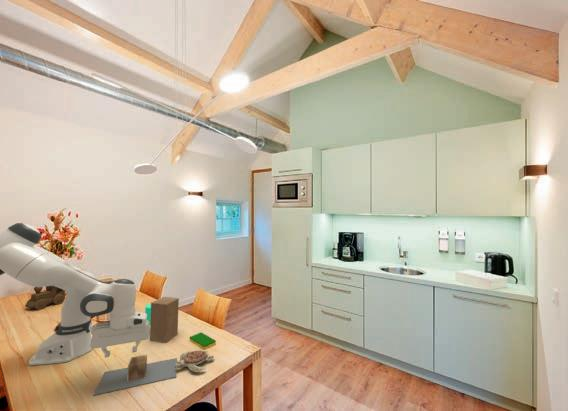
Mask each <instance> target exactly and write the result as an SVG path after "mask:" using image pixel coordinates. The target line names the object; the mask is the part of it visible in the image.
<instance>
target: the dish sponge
mask: <svg viewBox="0 0 568 411" xmlns="http://www.w3.org/2000/svg"><path fill="white" fill-rule="evenodd" d="M189 342H190V343H192V344H194V346H196V347H199V348H200V349H202V351H206V350H207V349H209V348H211V347H214V346H215V345H216V344H217V342H216V339H214V338H212V337H210V336H209V335H207V334H205V333H203V332H199V333H196V334H193V335H191V336H189Z"/></svg>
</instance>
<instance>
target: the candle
mask: <svg viewBox="0 0 568 411" xmlns="http://www.w3.org/2000/svg"><path fill="white" fill-rule="evenodd" d="M144 308H145V311H144V313H146V314H147V320H148V321H149V325H150V320H151V304H147V305H146V306H145V307H144Z"/></svg>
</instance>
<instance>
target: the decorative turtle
mask: <svg viewBox="0 0 568 411" xmlns="http://www.w3.org/2000/svg"><path fill="white" fill-rule="evenodd" d="M208 352H209V350H193V351H189V350H187V351H185V352H183V353H182V354H180V356H179V359H180V361H177V363H176V365H175V368H177V370H178V369H182V368H183V367H187V368H188V369H189V370H190V371H192V372H195V373H199V372H202V371H205V370H206V369H207V368H206V366H199V365H200V364H202V363H203V362H205V361H211V360H213V359H214V358H215V356H214V355H208V354H207V353H208Z"/></svg>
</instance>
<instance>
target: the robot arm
mask: <svg viewBox="0 0 568 411" xmlns="http://www.w3.org/2000/svg"><path fill="white" fill-rule="evenodd" d="M41 239H42V233H41V232H40V231H39V229H37V227H35V226H33V225H31V224H27V223H23V222H18V223H15V224H12V225H11V226H8V227H7V229H5V230H4V231H2V232H1V233H0V276H3V274H7V275H8V276H10V277H11V278H13V279H15V280H16V281H19V282H21V283H23V284H25V285H28V286H31V287H33V288H35V287H43V288H46V286H53V285H54V286H56V287H58V288H60V289H63V290H65V299H64V301H63V302H64V303H63V306H62V307H61V312H60V322H58V323H57V325H56V326H55V327H54V329H53V334H52V335H50V336H49V337H48V338H46V339H45V340H44V341H42V343H41V344H39V346H38V348H37V351H36V353H35V354H33V355H32V356H31V357H30V359H29V360H28V366H39V365H49V364H51V365H52V364H63V363H67V362H70V361H72V360H73V359H76V358H79V357H81V356H84V355H86V354H88V353H89V352H90V351H91V350H92V349H93V350H94V349H95V350H96V349H99V348H101V351H102V352H103V354H104V358H109V357H110V355H111V350H108V349H107V347H113V346H117V345H123V344H130V343H135V346H132V349H131V350H132V351H131V352H132V353H137V351H138V346H139V345H140V343H141V342H143V341H147V340H148V339H150V325H149V321H148V320H147V314H146V313H145V312H140V311H136V307H135V306H136V305H135V303H136V300H137V288H136V287H137V286H136V284H135V282H134V281H133V280H131V279H127V278H121V279H120V278H119V279H115V280H113V281H112V282H108V281H102V280H99V279H98V277H97V276H96V274H94V273H93V272H91V271H87V270H84V269H81V268H80V267H78V266H76V265H74V264H73V263H70V262H69V261H67V260H66V259H64V258H63V257H60V256H59V255H56V254H54V253H53V252H51V251H49V250H47V249H46V248H43V247H41V246H38V245H39V244H40V241H41ZM107 314H109V320H107V321H104V322H103V321H102V322H96V323H95V324H94V325H93V324H92V318H94V317H99V316H104V315H107Z"/></svg>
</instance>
